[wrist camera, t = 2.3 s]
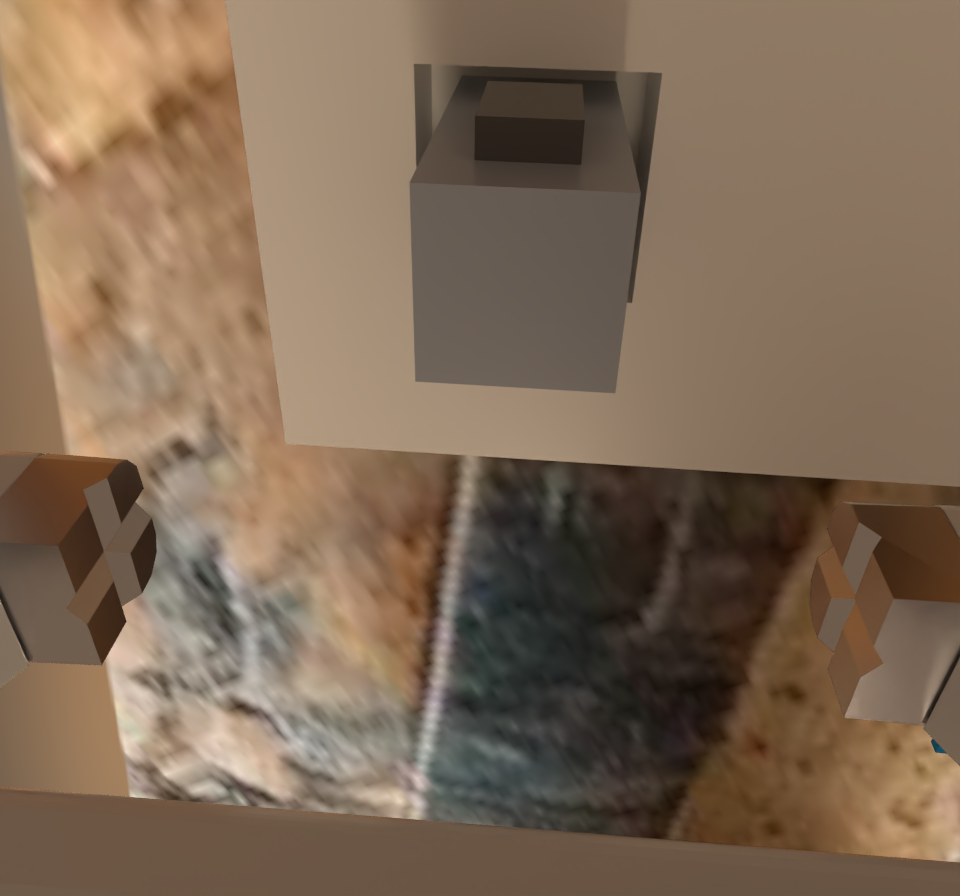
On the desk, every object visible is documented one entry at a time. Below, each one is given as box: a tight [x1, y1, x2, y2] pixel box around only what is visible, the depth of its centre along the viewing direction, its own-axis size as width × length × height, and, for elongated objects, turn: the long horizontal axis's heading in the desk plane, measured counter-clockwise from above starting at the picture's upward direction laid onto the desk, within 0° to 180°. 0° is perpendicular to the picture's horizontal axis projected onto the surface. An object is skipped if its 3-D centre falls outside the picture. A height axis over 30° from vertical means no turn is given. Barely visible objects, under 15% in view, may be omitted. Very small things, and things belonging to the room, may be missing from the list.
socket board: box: [225, 0, 960, 487], centre depth 22 cm, size 16×28×4 cm, turn 89°
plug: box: [409, 75, 641, 393], centre depth 19 cm, size 5×4×9 cm
